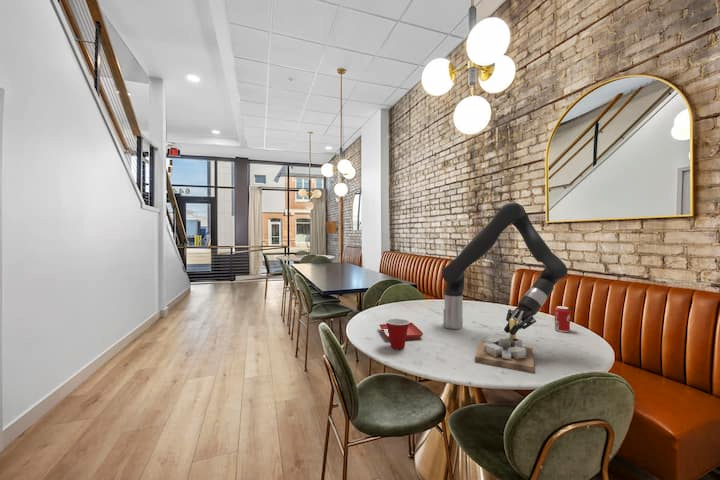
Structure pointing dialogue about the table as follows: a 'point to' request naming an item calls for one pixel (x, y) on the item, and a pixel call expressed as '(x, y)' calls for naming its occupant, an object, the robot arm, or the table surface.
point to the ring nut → (515, 351)
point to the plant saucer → (411, 331)
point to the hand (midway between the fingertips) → (508, 332)
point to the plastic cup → (397, 332)
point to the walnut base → (512, 363)
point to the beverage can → (562, 319)
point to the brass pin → (511, 324)
